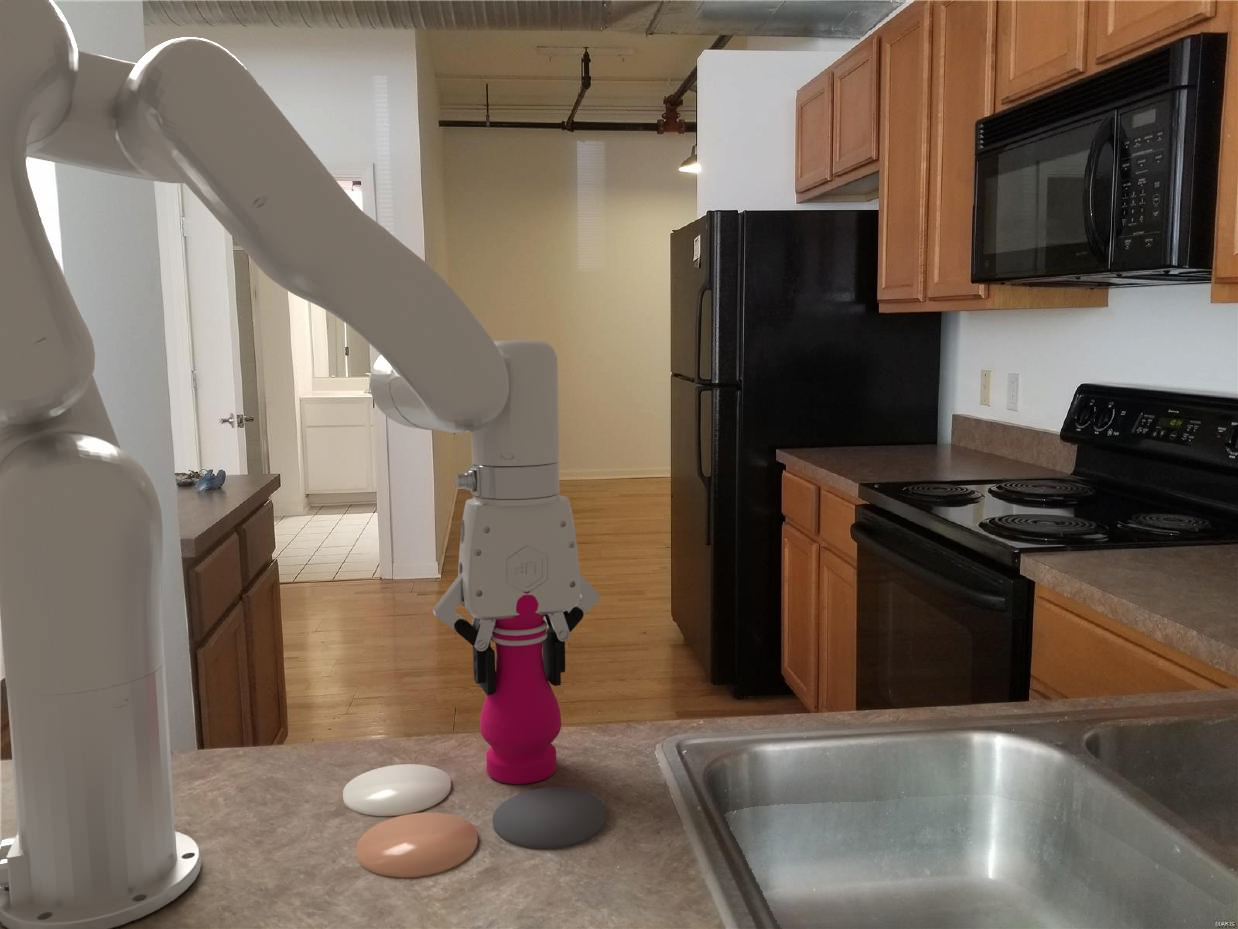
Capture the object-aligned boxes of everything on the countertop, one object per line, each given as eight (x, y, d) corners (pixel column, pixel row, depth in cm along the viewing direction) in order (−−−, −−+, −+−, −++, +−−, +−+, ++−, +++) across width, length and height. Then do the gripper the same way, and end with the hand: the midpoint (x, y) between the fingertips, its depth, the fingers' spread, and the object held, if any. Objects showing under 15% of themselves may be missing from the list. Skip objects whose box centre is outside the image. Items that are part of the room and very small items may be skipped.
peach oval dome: (364, 893, 67) (363, 882, 67) (350, 834, 75) (350, 824, 75) (490, 867, 70) (490, 857, 70) (463, 814, 79) (463, 804, 79)
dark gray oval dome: (531, 865, 70) (531, 855, 70) (472, 820, 78) (472, 811, 77) (628, 824, 76) (628, 814, 76) (565, 786, 83) (564, 777, 83)
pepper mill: (467, 781, 84) (461, 556, 82) (501, 749, 91) (496, 541, 88) (544, 792, 82) (540, 561, 79) (573, 758, 88) (570, 545, 86)
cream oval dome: (349, 828, 76) (348, 819, 76) (338, 783, 85) (338, 774, 85) (461, 808, 80) (460, 799, 79) (440, 766, 88) (439, 757, 88)
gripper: (425, 494, 77) (431, 713, 79) (623, 483, 83) (625, 686, 85) (409, 483, 84) (416, 685, 86) (593, 473, 90) (595, 661, 92)
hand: (520, 683), depth 85 cm, fingers closed on pepper mill, 5 cm apart
